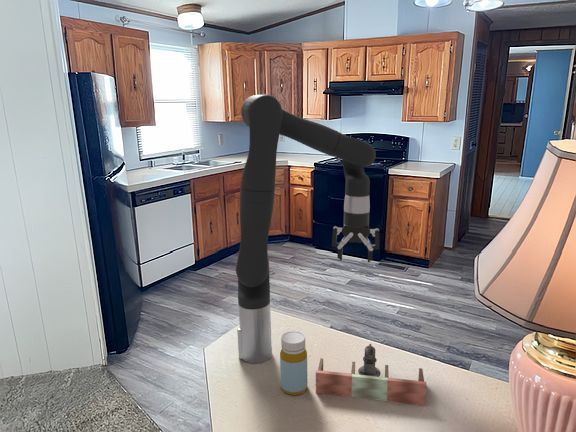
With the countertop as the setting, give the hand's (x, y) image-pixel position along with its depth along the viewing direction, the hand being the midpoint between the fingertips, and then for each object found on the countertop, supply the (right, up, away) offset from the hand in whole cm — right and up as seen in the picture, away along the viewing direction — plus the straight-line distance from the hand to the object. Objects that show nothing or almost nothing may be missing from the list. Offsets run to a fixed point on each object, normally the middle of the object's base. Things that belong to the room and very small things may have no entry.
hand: (354, 260), depth 131 cm
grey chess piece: (+1, -31, -17) cm, 36 cm away
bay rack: (+1, -31, -18) cm, 36 cm away
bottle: (-19, -32, -18) cm, 41 cm away
